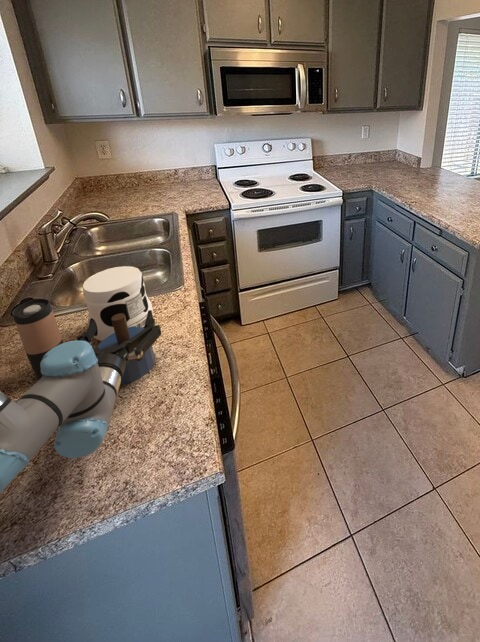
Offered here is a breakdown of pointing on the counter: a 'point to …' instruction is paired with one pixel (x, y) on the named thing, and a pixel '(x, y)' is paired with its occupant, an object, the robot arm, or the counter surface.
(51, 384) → the robot arm
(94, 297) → the milk container
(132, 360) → the pot
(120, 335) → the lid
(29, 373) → the counter surface
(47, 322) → the travel mug
